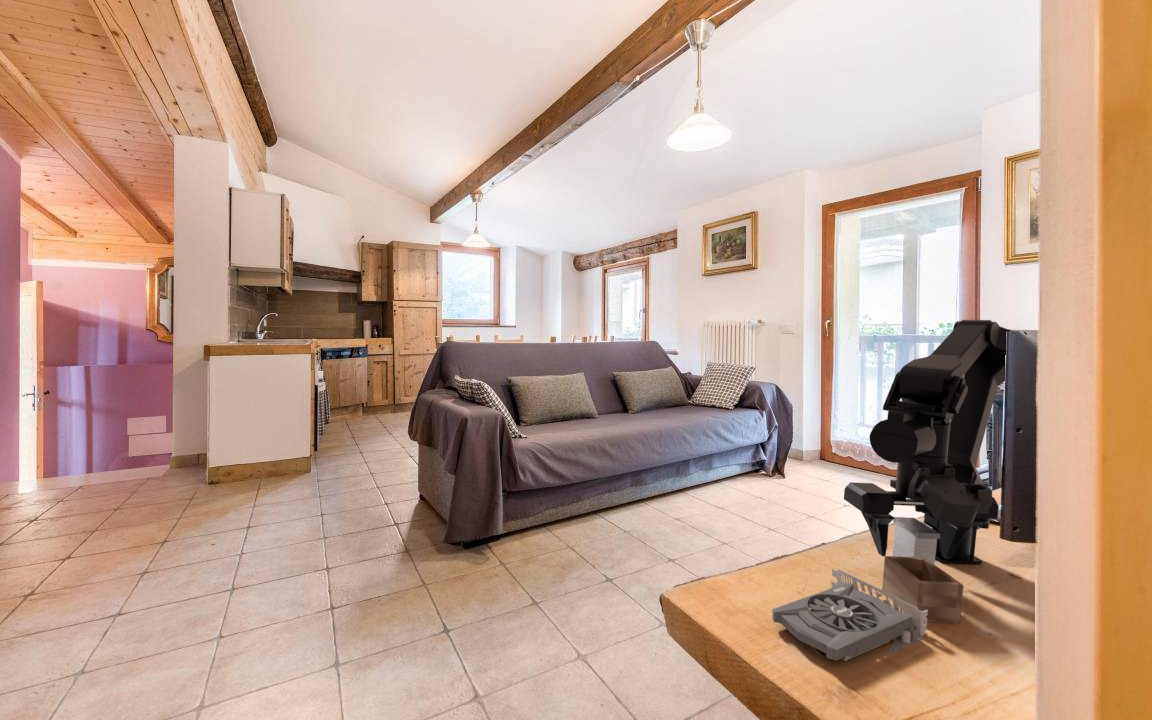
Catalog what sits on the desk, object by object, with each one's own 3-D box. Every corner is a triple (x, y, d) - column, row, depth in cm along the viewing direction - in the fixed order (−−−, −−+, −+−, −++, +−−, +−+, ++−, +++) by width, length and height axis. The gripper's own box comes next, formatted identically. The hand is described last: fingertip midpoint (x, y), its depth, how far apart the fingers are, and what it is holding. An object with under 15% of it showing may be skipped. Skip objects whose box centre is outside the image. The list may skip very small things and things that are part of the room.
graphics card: (837, 564, 68) (931, 608, 57) (836, 590, 68) (929, 639, 57) (750, 592, 60) (839, 649, 50) (749, 621, 61) (838, 684, 50)
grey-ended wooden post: (889, 567, 73) (893, 516, 73) (909, 568, 73) (913, 517, 73) (913, 587, 68) (918, 532, 67) (935, 588, 68) (940, 533, 67)
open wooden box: (921, 592, 67) (924, 557, 66) (959, 623, 60) (963, 585, 59) (882, 590, 67) (884, 556, 66) (915, 621, 60) (919, 583, 60)
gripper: (892, 466, 61) (882, 583, 63) (1041, 472, 61) (1028, 589, 62) (845, 444, 72) (838, 544, 74) (971, 449, 72) (962, 549, 73)
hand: (913, 556), depth 70 cm, fingers open, 9 cm apart
